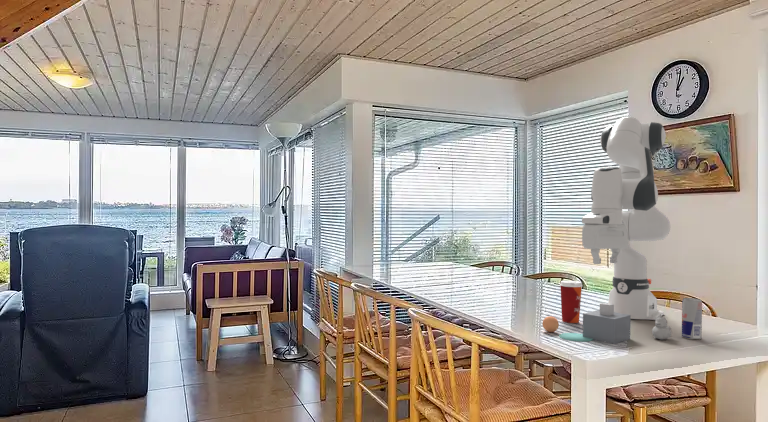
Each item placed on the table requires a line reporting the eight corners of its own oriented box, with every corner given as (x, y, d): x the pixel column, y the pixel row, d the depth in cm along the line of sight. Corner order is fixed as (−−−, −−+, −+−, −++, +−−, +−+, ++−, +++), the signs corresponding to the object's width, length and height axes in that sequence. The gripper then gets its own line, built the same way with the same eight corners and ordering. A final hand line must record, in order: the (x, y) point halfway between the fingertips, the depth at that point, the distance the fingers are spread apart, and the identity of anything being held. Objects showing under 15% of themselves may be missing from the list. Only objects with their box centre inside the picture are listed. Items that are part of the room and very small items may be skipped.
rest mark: (570, 332, 170) (570, 331, 170) (599, 338, 163) (599, 337, 163) (552, 336, 164) (552, 336, 164) (582, 343, 156) (582, 342, 156)
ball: (548, 329, 174) (548, 314, 174) (561, 332, 170) (562, 316, 170) (539, 331, 171) (539, 316, 170) (552, 334, 167) (553, 318, 167)
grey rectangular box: (599, 332, 170) (599, 299, 170) (630, 338, 162) (630, 304, 162) (582, 337, 164) (583, 303, 164) (614, 343, 156) (614, 308, 156)
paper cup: (583, 324, 182) (584, 283, 182) (560, 323, 184) (561, 282, 184) (580, 319, 190) (580, 280, 190) (557, 318, 191) (558, 279, 191)
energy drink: (680, 335, 168) (681, 297, 168) (699, 336, 166) (700, 298, 166) (683, 338, 163) (683, 300, 163) (703, 340, 161) (703, 301, 161)
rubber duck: (646, 338, 164) (647, 312, 164) (661, 336, 167) (662, 310, 167) (662, 342, 159) (662, 315, 159) (677, 340, 162) (677, 314, 162)
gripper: (614, 219, 172) (613, 261, 172) (578, 217, 160) (577, 263, 160) (633, 219, 167) (632, 263, 167) (597, 218, 155) (596, 265, 155)
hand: (605, 263), depth 163 cm, fingers open, 8 cm apart
